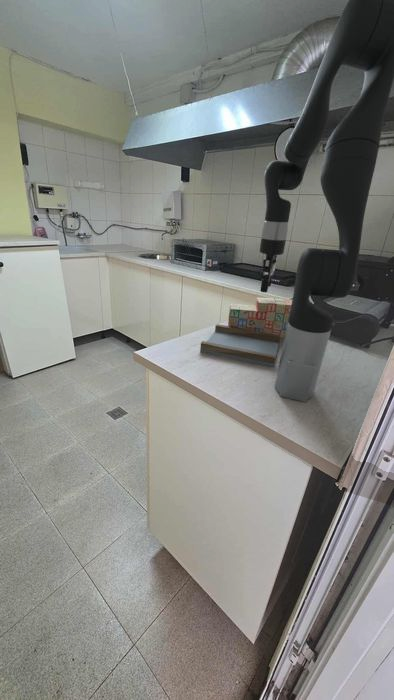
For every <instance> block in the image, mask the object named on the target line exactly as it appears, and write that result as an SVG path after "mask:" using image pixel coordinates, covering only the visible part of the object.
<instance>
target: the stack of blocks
mask: <svg viewBox="0 0 394 700" xmlns="http://www.w3.org/2000/svg"><path fill="white" fill-rule="evenodd" d="M255 299H256V300H255V305H254V304H253V305H252V304H239V303H230V304H229V312H228V319H227V320H228V321H227V326H231V327H236V328H242V329H248V330H253V331H259V332H265V333H270V334H276V335H281V336H280V339H284V338H285V333H286V328H287V323H288V319H289V314H290V310H291V305H292V300H293V299H292V300H291V299H283V298H269V297H256V298H255Z"/></svg>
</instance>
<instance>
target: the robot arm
mask: <svg viewBox="0 0 394 700" xmlns="http://www.w3.org/2000/svg"><path fill="white" fill-rule="evenodd" d="M342 66H347V67H348V68H349V67H350V68H354V69H357V70H361V71H363V73H364V80H363V85H362V89H361V92H360V94H359V95H360V96H359V97H358V99H357V100H356V102H355V103H354V105H353V106H352V107H351V108H350V110H349V111H348V112H347V114H345V116H344V117H343V118H342V119H341V121H340V122H339V123H338V124H337V126H336V127H335V128H334V130H333V131H332V133H331V134H330V136H329V138H328V140H327V141H326V142H327V143H326V145H325V150H324V155H323V156H324V157H323V160H322V166H321V172H320V185H321V186H320V187H321V190H322V193H323V195H324V197H325V200H326V202H327V204H328V206H329V208H330V210H331V213H332V215H333V218H334V219H335V223H336V227H337V231H338V240H339V242H338V243H339V244H338V249H328V248H327V249H326V248H317V247H309V248H306V249H304V251H302V253H301V254H300V256H299V260H298V263H297V268H296V274H295V275H296V276H295V282H294V289H293V294H292V295H293V296H292V305H291V310H290V314H289V319H288V323H287V328H286V333H285V338H283V343H282V347H281V348H282V349H281V352H280V358H279V362H278V367H277V373H276V378H275V383H274V388H275V390H276V391H277V392H278V393H279V395H278V396H279V397H282V398H287V399H292V400H296V401H300V402H304V403H307V401H308V399H311V398H312V397H313V395H314V393H315V388H316V385H317V381H318V378H319V374H320V371H321V367H322V364H323V360H324V357H325V352H326V349H327V346H328V343H329V338H330V336H331V332H332V329H333V326H334V325H333V324H334V320H335V318H334V316H333V314H331V313H330V312H329V311H327V310H325V309H323V308H321V307H319V306H317V305H315V304H314V303H313V302H311V301H310V296H317V297H326V298H337V299H342V298H346V297H347V296H348V295H349V294H350V293H351V290H352V289H353V286H354V284H355V280H356V275H357V271H358V264H359V258H360V257H359V256H360V248H361V244H362V243H361V240H362V234H363V233H362V232H363V225H364V219H365V213H366V208H367V202H368V200H369V194H370V189H371V186H372V182H373V177H374V172H375V170H376V169H375V168H376V165H377V158H378V153H379V148H380V143H381V142H380V141H381V137H382V136H381V135H382V131H383V126H384V121H385V116H386V111H387V106H388V102H389V98H390V93H391V89H392V86H393V83H394V0H348V2H347V3H346V5H345V7H344V8H343V10H342V11H341V15H340V17H339V19H338V20H337V23H336V25H335V28H334V29H333V33H332V35H331V37H330V40H329V42H328V45H327V47H326V50H325V53H324V55H323V58H322V60H321V63H320V66H319V67H318V71H317V74H316V76H315V79H314V81H313V83H312V87H311V88H310V89H311V90H310V92H309V95H308V97H307V100H306V102H305V105H304V107H303V110H302V113H301V115H300V116H299V118H298V121H297V122H296V124H295V126H294V129H293V130H292V131H291V134H290V136H289V138H288V139H287V141H286V144H285V147H284V149H283V150H284V151H283V153H284V157H285V159H286V160H281V159H280V160H279V159H275V160H272V161H271V162H269V163H268V165H267V166H266V169H265V172H264V188H265V189H264V190H265V199H266V200H265V201H266V202H265V203H266V209H265V215H264V216H265V217H264V224H263V226H262V231H261V238H260V244H259V246H260V247H259V253H260V254H262V255H263V254H264V255H266V256H265V258H264V259H263V261H262V268H261V275H260V279H261V284H260V292H261V293H265V294H266V293H268V289H269V287H271V285H272V279H273V275H274V272H275V271H276V270H275V269H276V266H277V262H278V260H277V258H278V256H282V255H284V253H285V246H286V242H287V236H288V235H287V234H288V230H289V229H288V228H289V220H290V213H291V207H292V204H291V202H290V201H289V200H288V199H284V198H283V197H281V196H280V192H279V191H294V190H296V189H297V188H298V187H299V186H300V185H301V184H302V182H303V178H304V175H305V172H306V170H307V167H308V165H309V164H308V163H309V160H310V158H311V156H312V155H313V153H314V152H315V150H316V148H317V147H318V145H319V144H320V143H321V141H322V139H323V137H324V135H325V133H326V130H327V127H328V124H329V123H328V122H329V117H330V114H329V113H330V97H331V92H332V91H331V90H332V86H333V82H334V80H335V77H336V75H337V73H338V72H339V70H340V68H341V67H342Z"/></svg>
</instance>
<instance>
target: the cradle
mask: <svg viewBox="0 0 394 700" xmlns="http://www.w3.org/2000/svg"><path fill="white" fill-rule="evenodd" d="M280 336H281V335H276V334H270V333H265V332H259V331H253V330H248V329H242V328H236V327H231V326H228V325H223V324H218V323H217V324H215V329H214V331H213V333H212V334H211V336H210V337H209V338H208V339H207V340H206V341H205V340H202V341H201V342H200V348H199V349H200V350H199V352H200V353H204V354H209V355H213V356H219V357H223V358H228V359H232V360H237V361H242V362H247V363H250V364H251V363H253V364H256V365H257V364H258V365H262V366H267V367H272V368H274V367H275V363H276V357H277V353H278V348H279V345H280V341H281V338H280Z"/></svg>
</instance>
